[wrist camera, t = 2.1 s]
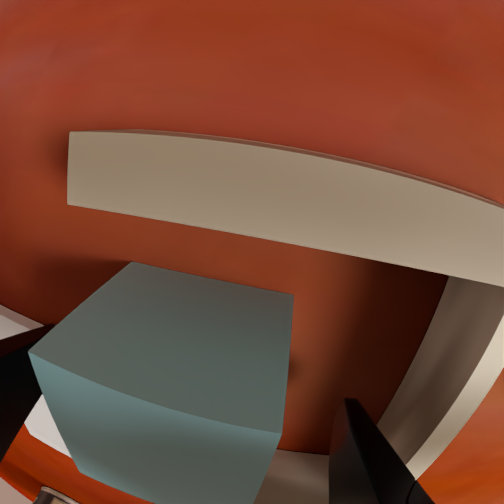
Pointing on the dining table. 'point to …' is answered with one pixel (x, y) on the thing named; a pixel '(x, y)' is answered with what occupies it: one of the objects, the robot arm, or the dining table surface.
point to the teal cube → (170, 384)
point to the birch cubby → (335, 240)
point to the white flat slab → (40, 419)
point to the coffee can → (52, 497)
